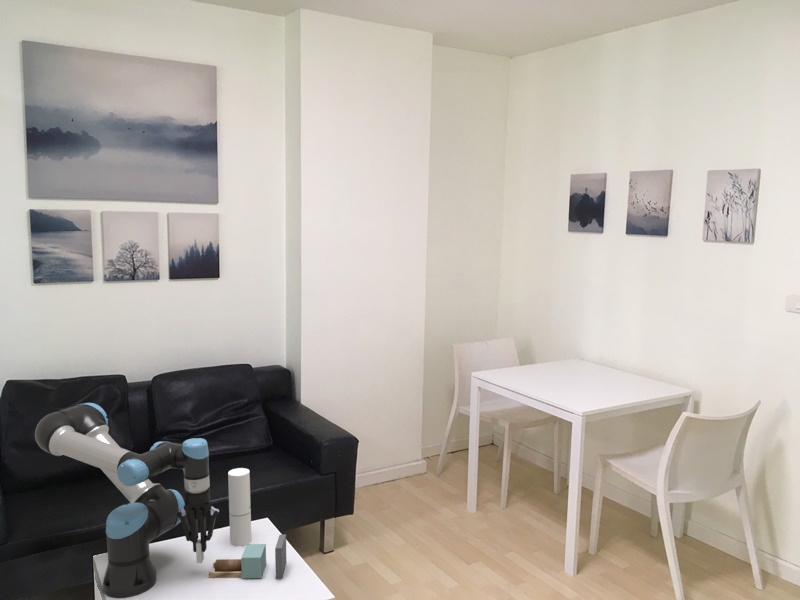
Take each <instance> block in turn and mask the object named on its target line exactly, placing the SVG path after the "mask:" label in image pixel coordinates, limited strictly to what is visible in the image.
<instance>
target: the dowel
mask: <svg viewBox="0 0 800 600" xmlns="http://www.w3.org/2000/svg"><path fill="white" fill-rule="evenodd" d="M214 563H215V568H214V572H233V571H241V573H242V567H241V558H237V559H236V558H234V559H233V558H232V559H231V558H230V559H229V558H227V559H226V558H225V559H224V558H223V559H216V560H215V562H214Z"/></svg>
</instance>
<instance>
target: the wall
mask: <svg viewBox="0 0 800 600" xmlns="http://www.w3.org/2000/svg"><path fill="white" fill-rule="evenodd" d="M274 551H275V552H274V554H275V557H274V558H275V560H274V561H275V563H274V564H275V580H283V579H284V574H285V572H286V571H285V570H286V567H287V534H279V536H278V538H277V542H276V544H275V548H274Z"/></svg>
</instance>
